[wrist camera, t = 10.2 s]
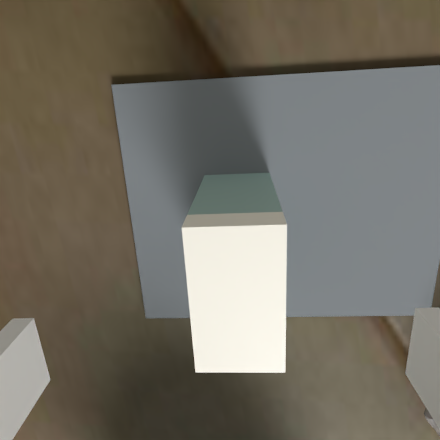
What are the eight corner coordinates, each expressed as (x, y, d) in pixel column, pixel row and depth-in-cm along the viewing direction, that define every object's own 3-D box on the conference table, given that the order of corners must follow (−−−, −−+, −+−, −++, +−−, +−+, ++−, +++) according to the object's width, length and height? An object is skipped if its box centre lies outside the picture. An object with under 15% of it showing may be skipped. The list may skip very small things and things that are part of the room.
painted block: (211, 275, 24) (195, 372, 16) (204, 175, 22) (181, 227, 14) (270, 273, 24) (285, 372, 16) (269, 172, 22) (287, 224, 13)
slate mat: (147, 315, 26) (145, 318, 26) (113, 84, 21) (111, 84, 20) (427, 311, 25) (429, 315, 24) (469, 63, 19) (473, 63, 19)
